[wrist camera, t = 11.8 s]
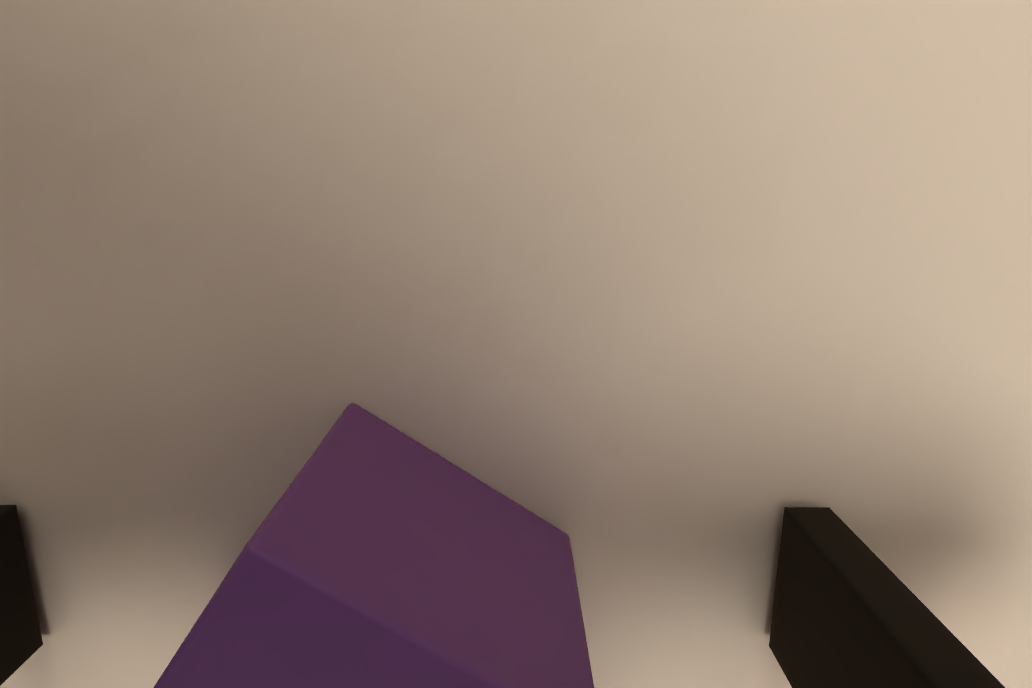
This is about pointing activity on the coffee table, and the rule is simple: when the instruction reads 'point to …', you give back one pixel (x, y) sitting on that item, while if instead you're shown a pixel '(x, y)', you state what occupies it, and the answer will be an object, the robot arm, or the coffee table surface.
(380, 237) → the coffee table surface
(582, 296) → the coffee table surface
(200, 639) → the purple matte cube
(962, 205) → the coffee table surface
